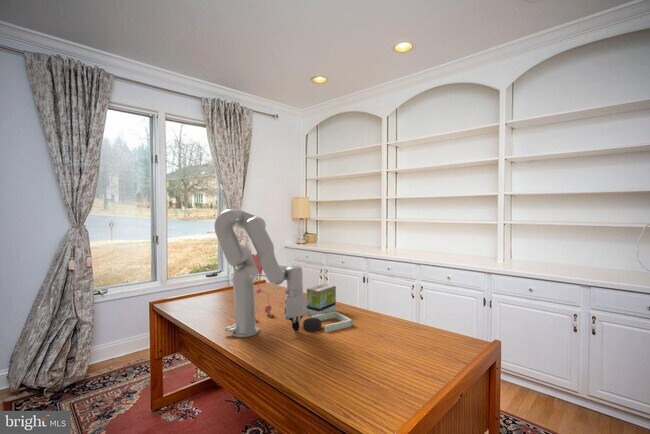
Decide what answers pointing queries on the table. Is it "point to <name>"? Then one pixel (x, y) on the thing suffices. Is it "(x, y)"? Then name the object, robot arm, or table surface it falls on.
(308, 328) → the smart speaker
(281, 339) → the table surface
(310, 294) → the tea box
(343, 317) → the frame
